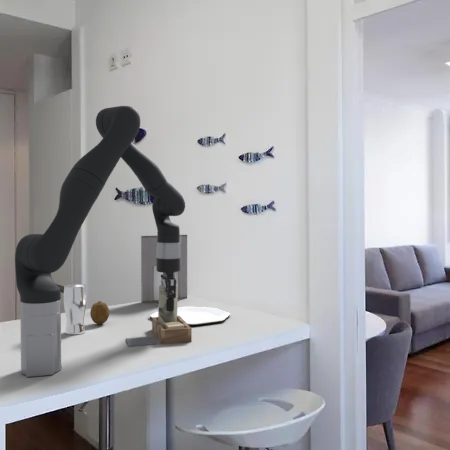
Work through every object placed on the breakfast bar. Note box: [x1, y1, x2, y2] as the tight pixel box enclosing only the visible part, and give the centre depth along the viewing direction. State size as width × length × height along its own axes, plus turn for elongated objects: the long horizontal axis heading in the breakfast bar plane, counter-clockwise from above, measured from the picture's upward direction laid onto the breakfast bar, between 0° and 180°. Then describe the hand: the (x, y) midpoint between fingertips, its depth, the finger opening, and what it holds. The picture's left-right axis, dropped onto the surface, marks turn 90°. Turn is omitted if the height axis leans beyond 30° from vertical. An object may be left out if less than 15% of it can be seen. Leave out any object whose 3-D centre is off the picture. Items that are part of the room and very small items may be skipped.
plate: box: [149, 306, 231, 326], centre depth 179 cm, size 28×28×2 cm
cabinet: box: [140, 234, 188, 304], centre depth 209 cm, size 21×10×28 cm, turn 122°
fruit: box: [90, 300, 110, 326], centre depth 168 cm, size 6×6×8 cm
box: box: [157, 285, 179, 326], centre depth 157 cm, size 5×4×13 cm
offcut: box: [163, 322, 184, 329], centre depth 149 cm, size 5×5×2 cm
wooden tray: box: [151, 316, 193, 345], centre depth 154 cm, size 18×9×4 cm, turn 17°
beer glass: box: [63, 283, 87, 336], centre depth 157 cm, size 7×7×15 cm
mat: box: [125, 336, 157, 347], centre depth 146 cm, size 8×8×1 cm
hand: (168, 308), depth 158 cm, fingers closed on box, 6 cm apart
